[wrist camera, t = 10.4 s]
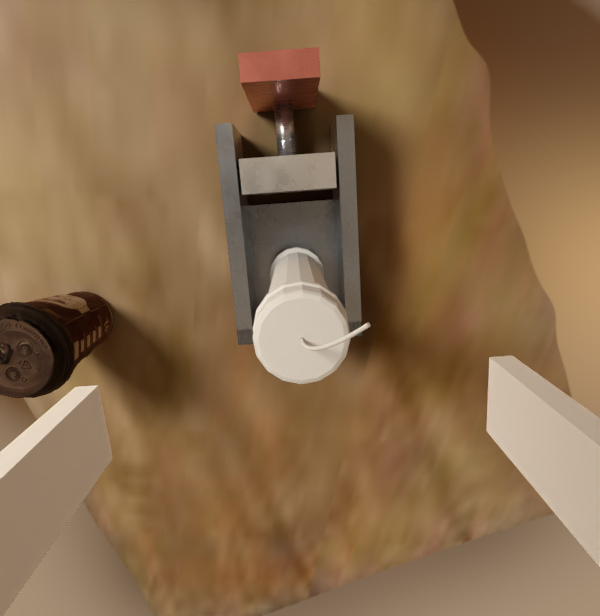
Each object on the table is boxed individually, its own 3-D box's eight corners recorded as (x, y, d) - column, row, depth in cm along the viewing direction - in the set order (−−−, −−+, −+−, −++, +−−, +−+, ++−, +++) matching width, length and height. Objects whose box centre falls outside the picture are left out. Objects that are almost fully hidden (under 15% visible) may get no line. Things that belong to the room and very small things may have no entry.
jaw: (239, 91, 43) (221, 54, 32) (324, 85, 43) (334, 46, 32) (249, 195, 45) (236, 193, 35) (330, 189, 45) (341, 186, 34)
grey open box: (226, 136, 44) (214, 124, 37) (344, 127, 44) (353, 113, 37) (246, 325, 49) (238, 344, 42) (352, 317, 49) (362, 335, 42)
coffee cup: (32, 294, 48) (-63, 328, 35) (100, 267, 47) (29, 292, 34) (70, 364, 50) (-7, 419, 37) (135, 339, 49) (80, 387, 36)
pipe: (260, 271, 46) (206, 383, 17) (302, 229, 45) (320, 273, 16) (296, 306, 47) (304, 471, 18) (338, 266, 46) (416, 371, 17)
